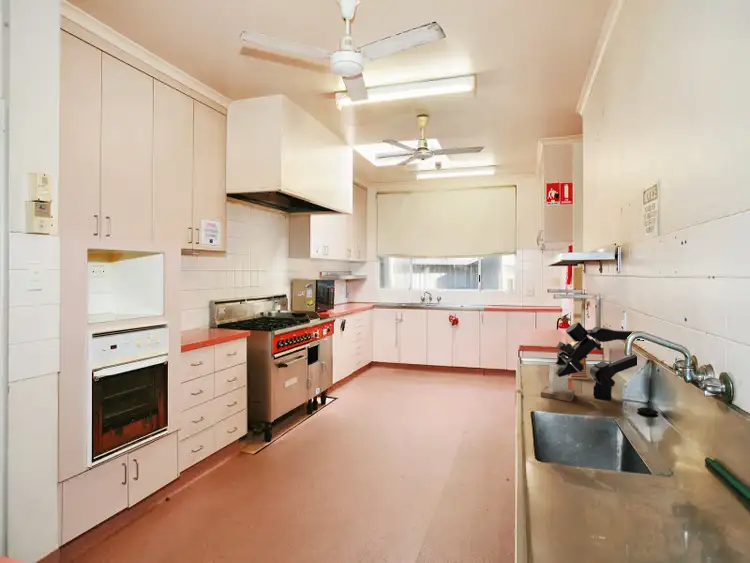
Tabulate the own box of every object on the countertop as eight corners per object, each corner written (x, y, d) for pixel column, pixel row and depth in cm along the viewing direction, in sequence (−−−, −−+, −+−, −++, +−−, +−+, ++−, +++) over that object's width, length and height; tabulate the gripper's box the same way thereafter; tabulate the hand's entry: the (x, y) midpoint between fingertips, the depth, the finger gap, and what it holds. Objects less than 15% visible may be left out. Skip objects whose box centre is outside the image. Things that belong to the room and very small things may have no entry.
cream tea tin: (562, 389, 195) (563, 364, 195) (567, 393, 189) (568, 367, 189) (548, 388, 196) (549, 364, 195) (552, 392, 190) (553, 367, 189)
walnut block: (574, 394, 194) (574, 390, 194) (570, 401, 184) (571, 396, 184) (545, 390, 201) (545, 385, 200) (540, 396, 190) (540, 391, 190)
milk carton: (588, 379, 223) (590, 340, 223) (570, 378, 224) (571, 339, 223) (580, 375, 233) (582, 337, 232) (562, 374, 233) (564, 336, 232)
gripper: (562, 332, 200) (536, 355, 202) (576, 339, 182) (548, 364, 183) (580, 350, 200) (553, 373, 201) (596, 359, 181) (567, 384, 183)
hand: (555, 373), depth 192 cm, fingers open, 9 cm apart
